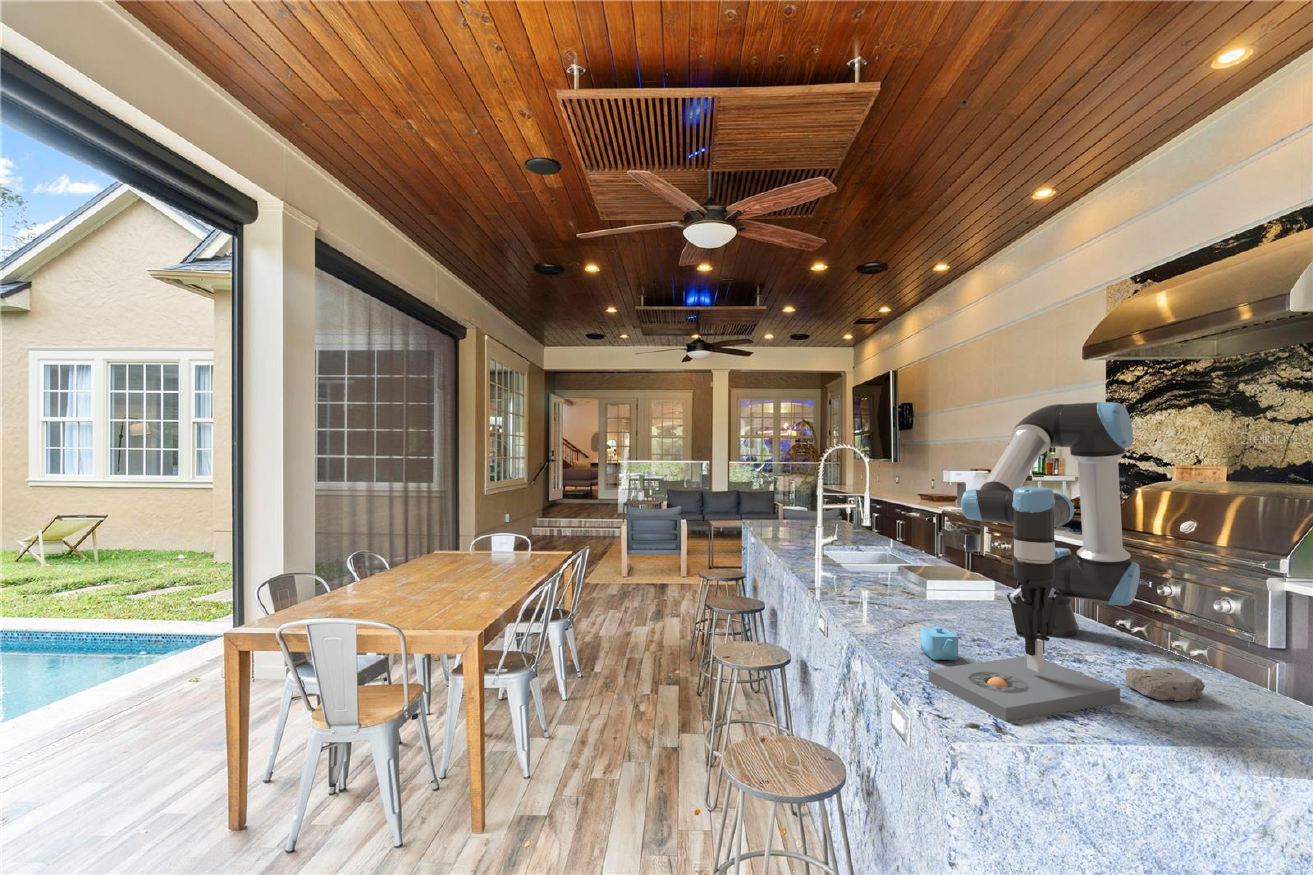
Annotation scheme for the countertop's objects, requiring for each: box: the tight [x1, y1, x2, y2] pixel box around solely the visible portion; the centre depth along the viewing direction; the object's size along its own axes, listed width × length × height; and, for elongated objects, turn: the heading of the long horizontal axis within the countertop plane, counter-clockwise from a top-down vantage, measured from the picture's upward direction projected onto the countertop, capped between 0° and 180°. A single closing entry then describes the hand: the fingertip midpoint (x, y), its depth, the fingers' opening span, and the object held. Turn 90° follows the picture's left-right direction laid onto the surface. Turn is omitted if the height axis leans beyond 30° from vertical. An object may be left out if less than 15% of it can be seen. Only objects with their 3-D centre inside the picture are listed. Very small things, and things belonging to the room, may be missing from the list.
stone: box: [1125, 666, 1206, 702], centre depth 127 cm, size 13×6×10 cm
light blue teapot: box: [920, 626, 959, 661], centre depth 147 cm, size 12×6×8 cm, turn 178°
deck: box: [927, 655, 1121, 723], centre depth 128 cm, size 30×20×3 cm, turn 107°
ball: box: [987, 677, 1008, 688], centre depth 126 cm, size 4×4×4 cm
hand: (1035, 669), depth 129 cm, fingers closed
